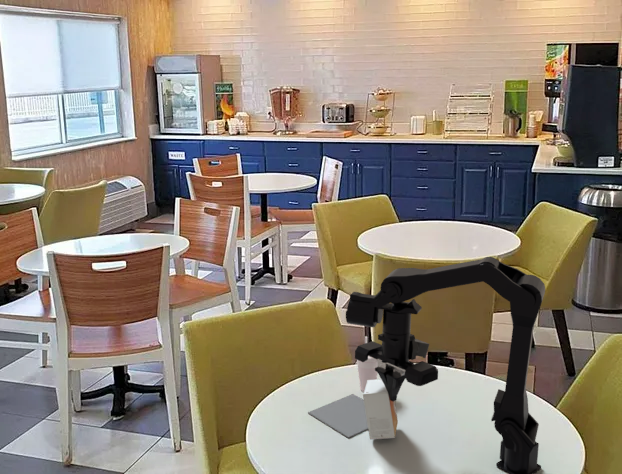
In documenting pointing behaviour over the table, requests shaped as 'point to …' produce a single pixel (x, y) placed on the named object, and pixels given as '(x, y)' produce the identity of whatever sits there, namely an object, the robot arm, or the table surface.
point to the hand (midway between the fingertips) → (393, 400)
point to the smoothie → (366, 370)
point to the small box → (379, 410)
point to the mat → (344, 415)
